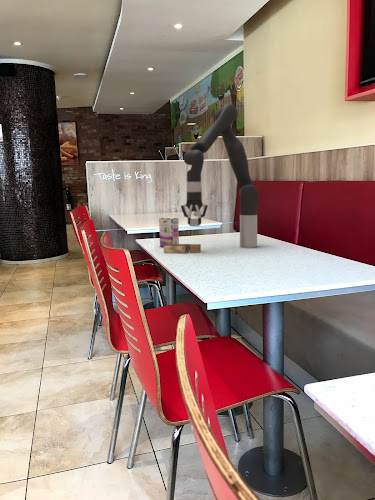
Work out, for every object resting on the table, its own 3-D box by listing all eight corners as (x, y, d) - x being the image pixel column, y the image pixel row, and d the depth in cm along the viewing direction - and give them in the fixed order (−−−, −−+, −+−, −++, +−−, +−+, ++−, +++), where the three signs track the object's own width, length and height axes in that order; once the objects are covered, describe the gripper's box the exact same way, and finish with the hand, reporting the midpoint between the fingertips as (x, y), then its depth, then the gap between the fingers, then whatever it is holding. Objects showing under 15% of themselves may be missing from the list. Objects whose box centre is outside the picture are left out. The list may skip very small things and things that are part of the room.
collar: (191, 225, 219) (191, 218, 218) (198, 225, 218) (198, 218, 217) (190, 226, 215) (190, 219, 214) (198, 226, 214) (198, 219, 214)
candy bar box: (179, 247, 233) (178, 217, 230) (172, 249, 229) (171, 218, 227) (166, 246, 241) (165, 216, 238) (159, 247, 238) (158, 217, 235)
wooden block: (166, 250, 224) (166, 242, 223) (200, 250, 221) (200, 242, 220) (163, 253, 216) (163, 244, 216) (199, 253, 214) (199, 244, 213)
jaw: (186, 251, 217) (185, 245, 216) (185, 252, 214) (185, 246, 214) (164, 251, 218) (164, 245, 218) (163, 252, 216) (163, 246, 215)
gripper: (178, 191, 211) (179, 226, 214) (207, 191, 209) (208, 226, 212) (181, 191, 218) (181, 224, 221) (209, 190, 216) (209, 224, 219)
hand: (194, 225), depth 216 cm, fingers closed on collar, 4 cm apart
